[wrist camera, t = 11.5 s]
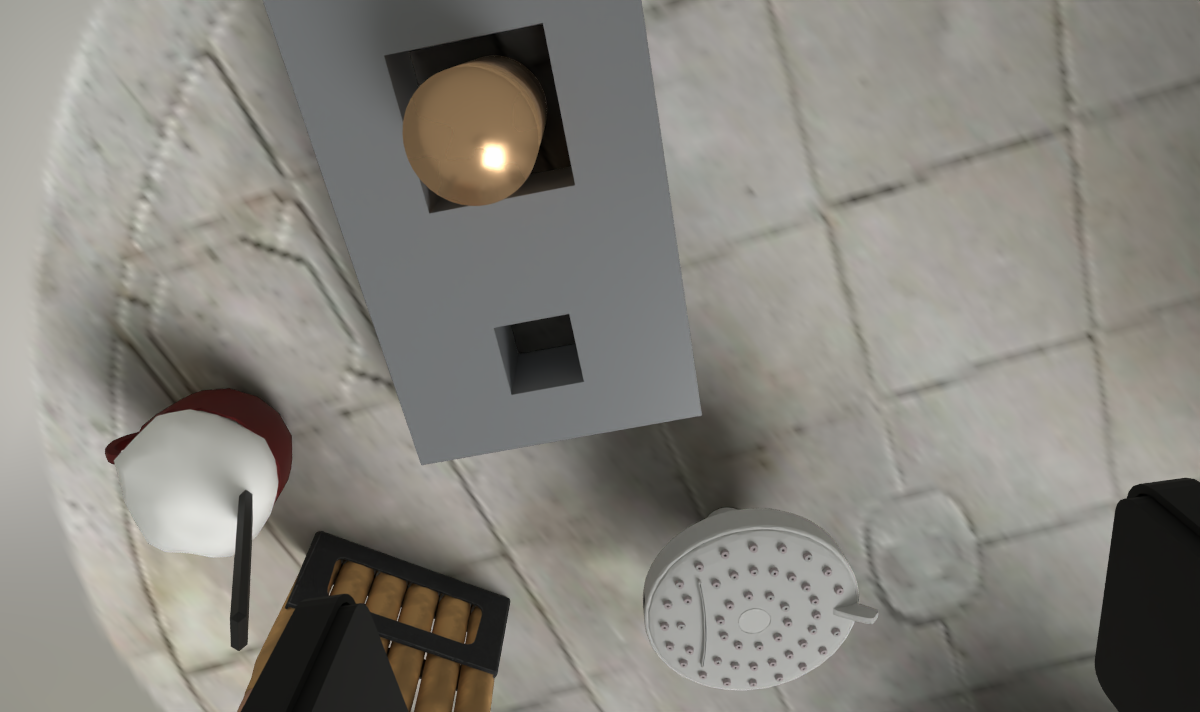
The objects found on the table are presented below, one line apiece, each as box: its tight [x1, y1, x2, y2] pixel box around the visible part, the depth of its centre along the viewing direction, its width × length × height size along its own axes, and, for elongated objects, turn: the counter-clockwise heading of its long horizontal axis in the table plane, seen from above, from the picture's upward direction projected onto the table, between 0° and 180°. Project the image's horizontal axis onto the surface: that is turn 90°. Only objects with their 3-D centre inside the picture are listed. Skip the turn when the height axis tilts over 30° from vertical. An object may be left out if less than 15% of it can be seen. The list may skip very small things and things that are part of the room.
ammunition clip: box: [237, 531, 510, 712], centre depth 33 cm, size 11×2×12 cm, turn 63°
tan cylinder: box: [402, 56, 547, 206], centre depth 25 cm, size 4×4×8 cm
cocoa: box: [105, 388, 292, 651], centre depth 29 cm, size 10×6×12 cm, turn 58°
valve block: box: [263, 0, 702, 465], centre depth 29 cm, size 12×18×4 cm, turn 11°
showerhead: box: [643, 507, 878, 690], centre depth 34 cm, size 9×7×10 cm
